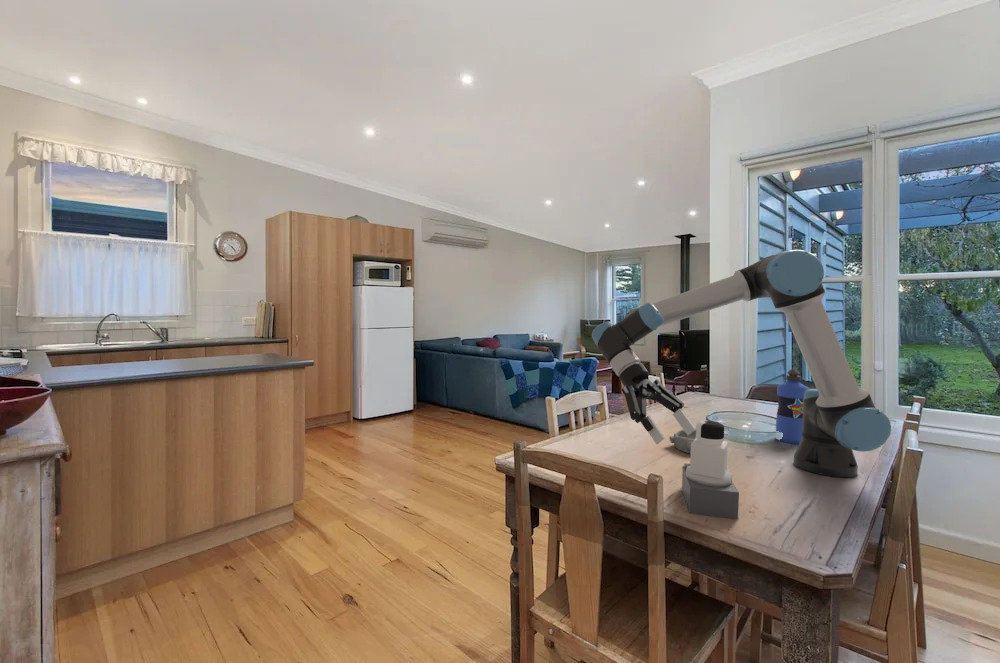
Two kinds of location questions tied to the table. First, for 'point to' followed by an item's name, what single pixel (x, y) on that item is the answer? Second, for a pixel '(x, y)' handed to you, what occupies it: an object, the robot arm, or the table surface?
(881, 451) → the table surface
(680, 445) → the dish
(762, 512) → the table surface
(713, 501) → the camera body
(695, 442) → the medicine bottle
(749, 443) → the table surface
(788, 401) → the water bottle
